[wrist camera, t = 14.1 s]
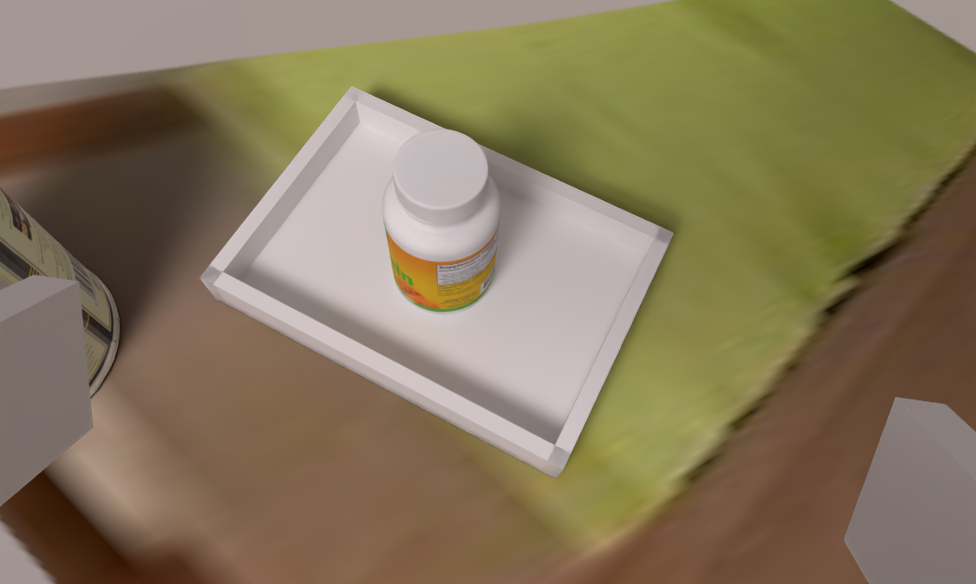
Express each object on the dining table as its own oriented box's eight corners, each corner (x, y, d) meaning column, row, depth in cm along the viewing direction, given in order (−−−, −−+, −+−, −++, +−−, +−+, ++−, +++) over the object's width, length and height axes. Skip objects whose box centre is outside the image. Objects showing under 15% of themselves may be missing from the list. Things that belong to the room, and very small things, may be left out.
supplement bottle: (379, 246, 38) (356, 136, 29) (471, 215, 39) (475, 99, 30) (414, 332, 36) (400, 241, 27) (509, 296, 37) (526, 198, 28)
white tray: (661, 255, 39) (674, 232, 37) (555, 479, 34) (563, 469, 32) (356, 114, 42) (351, 86, 40) (214, 298, 37) (199, 277, 35)
